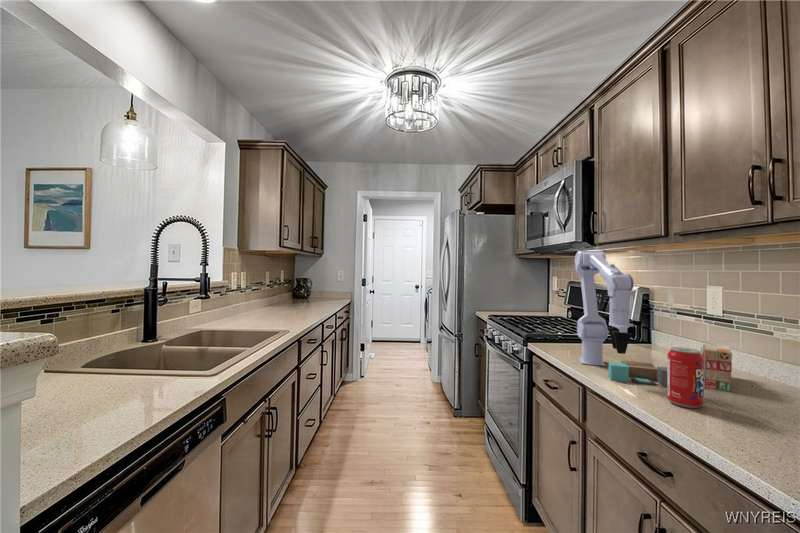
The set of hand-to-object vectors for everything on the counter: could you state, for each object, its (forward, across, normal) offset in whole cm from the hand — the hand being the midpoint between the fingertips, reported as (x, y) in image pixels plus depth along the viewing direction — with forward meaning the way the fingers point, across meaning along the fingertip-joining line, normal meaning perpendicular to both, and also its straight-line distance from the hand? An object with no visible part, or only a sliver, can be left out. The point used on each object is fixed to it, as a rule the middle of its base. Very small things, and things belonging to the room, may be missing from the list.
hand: (618, 350), depth 121 cm
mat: (+9, 0, -7) cm, 12 cm away
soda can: (+10, -19, -12) cm, 25 cm away
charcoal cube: (+10, 0, -14) cm, 17 cm away
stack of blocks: (+10, +10, -29) cm, 33 cm away
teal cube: (+10, 0, 0) cm, 10 cm away
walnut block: (+10, +8, -7) cm, 15 cm away
